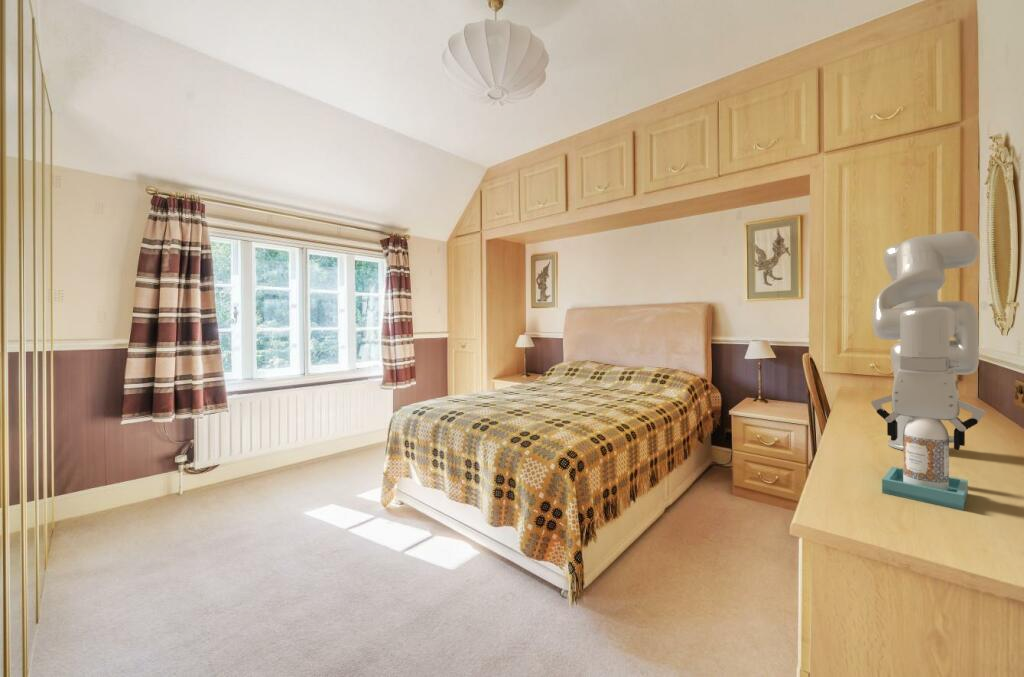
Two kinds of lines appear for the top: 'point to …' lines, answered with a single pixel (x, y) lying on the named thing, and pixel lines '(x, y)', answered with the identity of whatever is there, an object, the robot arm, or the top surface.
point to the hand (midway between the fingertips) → (924, 443)
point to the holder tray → (926, 490)
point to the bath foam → (926, 453)
